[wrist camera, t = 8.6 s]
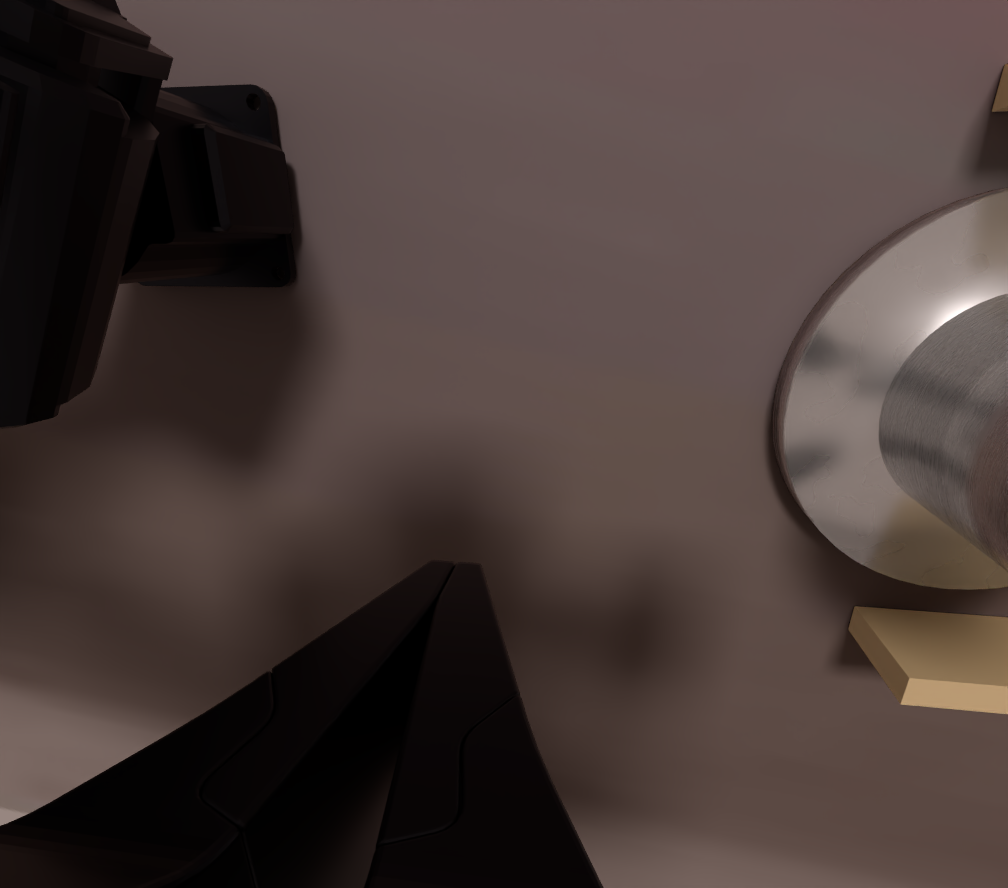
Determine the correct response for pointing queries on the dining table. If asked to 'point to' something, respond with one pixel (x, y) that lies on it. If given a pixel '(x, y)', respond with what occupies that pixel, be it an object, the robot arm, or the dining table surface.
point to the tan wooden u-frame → (939, 637)
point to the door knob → (908, 402)
